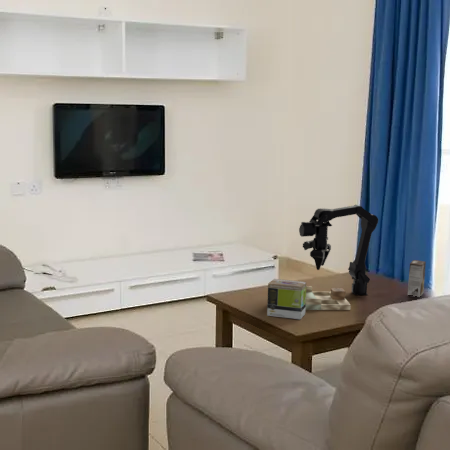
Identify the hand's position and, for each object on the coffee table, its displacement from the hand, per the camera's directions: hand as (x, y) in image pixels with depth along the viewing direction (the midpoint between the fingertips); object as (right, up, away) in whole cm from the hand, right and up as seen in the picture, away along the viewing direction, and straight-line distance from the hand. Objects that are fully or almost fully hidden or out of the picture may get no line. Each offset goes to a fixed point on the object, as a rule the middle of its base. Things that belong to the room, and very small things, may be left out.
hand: (320, 267), depth 349 cm
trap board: (0, -16, -10) cm, 19 cm away
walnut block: (+7, -13, -10) cm, 18 cm away
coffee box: (+48, -14, +10) cm, 51 cm away
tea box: (-19, -19, -30) cm, 40 cm away
